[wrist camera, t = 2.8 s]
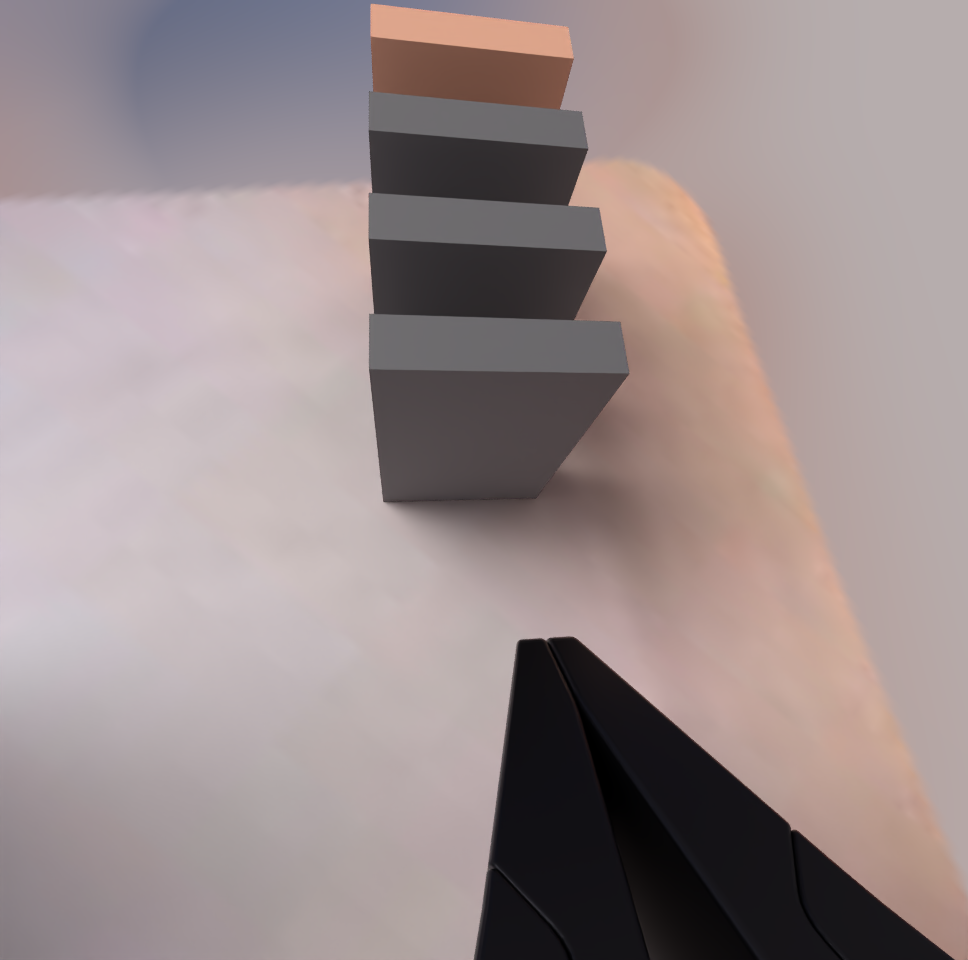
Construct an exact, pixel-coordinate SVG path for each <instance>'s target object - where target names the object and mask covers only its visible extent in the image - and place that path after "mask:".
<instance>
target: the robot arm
mask: <svg viewBox="0 0 968 960" xmlns="http://www.w3.org/2000/svg"><path fill="white" fill-rule="evenodd" d="M474 960H955V959H953V958H952V957H951V956H949V955H948V954H947V953H945V952H944V951H943V950H942V949H940V948H939V947H938V946H937V945H935V944H934V943H933V942H931V941H930V940H929V939H928V938H926V937H925V936H924V935H923V934H921V933H920V932H919V931H917V930H916V929H915V928H914V927H912V926H911V925H910V924H909V923H907V922H906V921H905V920H903V919H902V918H901V917H900V916H898V915H897V914H896V913H895V912H893V911H892V910H891V909H890V908H888V907H887V906H886V905H884V904H883V903H882V902H881V901H880V900H878V899H877V898H876V897H875V896H874V895H872V894H871V893H870V892H869V891H868V890H866V889H865V888H864V887H863V886H862V885H861V884H859V883H858V882H857V881H856V880H855V879H853V878H852V877H851V876H850V875H849V874H847V873H846V872H845V871H844V870H843V869H841V868H840V867H839V866H838V865H837V864H836V863H834V862H833V861H832V860H831V859H830V858H828V857H827V856H826V855H825V854H824V853H823V852H822V851H820V850H819V849H818V848H817V847H816V846H815V845H813V844H812V843H811V842H810V841H809V840H808V839H807V838H805V837H804V836H803V835H802V834H801V833H800V832H799V831H797V830H792V831H791V827H790V825H789V823H788V822H787V821H786V820H784V819H783V818H782V817H781V816H780V815H779V814H778V813H776V812H775V811H774V810H773V809H772V808H771V807H769V806H768V805H767V804H766V803H765V802H764V801H763V800H761V799H760V798H759V797H758V796H757V795H756V794H755V793H753V792H752V791H751V790H750V789H749V788H748V787H747V786H745V785H744V784H743V783H742V782H741V781H740V780H739V779H737V778H736V777H735V776H734V775H733V774H732V773H730V772H729V771H728V770H727V769H726V768H725V767H724V766H722V765H721V764H720V763H719V762H718V761H717V760H716V759H714V758H713V757H712V756H711V755H710V754H709V753H708V752H706V751H705V750H704V749H703V748H702V747H701V746H699V745H698V744H697V743H696V742H695V741H694V740H693V739H691V738H690V737H689V736H688V735H687V734H686V733H685V732H683V731H682V730H681V729H680V728H679V727H678V726H677V725H675V724H674V723H673V722H672V721H671V720H670V719H669V718H667V717H666V716H665V715H664V714H663V713H662V712H660V711H659V710H658V709H657V708H656V707H655V706H654V705H652V704H651V703H650V702H649V701H648V700H647V699H646V698H644V697H643V696H642V695H641V694H640V693H639V692H638V691H636V690H635V689H634V688H633V687H632V686H631V685H629V684H628V683H627V682H626V681H625V680H624V679H623V678H621V677H620V676H619V675H618V674H617V673H616V672H615V671H613V670H612V669H611V668H610V667H609V666H608V665H607V664H605V663H604V662H603V661H602V660H601V659H600V658H598V657H597V656H596V655H595V654H594V653H593V652H592V651H590V650H589V649H588V648H587V647H586V646H585V645H584V644H582V643H581V642H580V641H579V640H578V639H576V638H574V637H554V638H549V639H547V640H544V639H542V638H538V639H522V640H519V641H518V642H517V646H516V654H515V661H514V669H513V677H512V684H511V692H510V700H509V708H508V715H507V723H506V731H505V738H504V746H503V754H502V761H501V769H500V777H499V785H498V792H497V800H496V808H495V815H494V823H493V831H492V839H491V846H490V854H489V862H488V871H487V874H486V882H485V890H484V897H483V905H482V912H481V918H480V924H479V931H478V937H477V943H476V949H475V955H474Z"/></svg>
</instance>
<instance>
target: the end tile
mask: <svg viewBox="0 0 968 960" xmlns="http://www.w3.org/2000/svg"><path fill="white" fill-rule="evenodd" d="M371 51H372V73H373V92H381V93H391V94H402V95H412V96H423V97H433V98H444V99H454V100H464V101H475V102H485V103H496V104H506V105H517V106H527V107H538V108H548V109H558V110H560V106H561V103H562V99H563V96H564V92H565V88H566V85H567V81H568V78H569V74H570V70H571V67H572V63H573V60H574V57H573V52H572V46H571V40H570V35H569V29H568V27H564V26H556V25H547V24H538V23H529V22H522V21H513V20H505V19H496V18H488V17H479V16H470V15H462V14H454V13H445V12H436V11H427V10H420V9H411V8H403V7H394V6H386V5H377V4H371Z"/></svg>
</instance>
